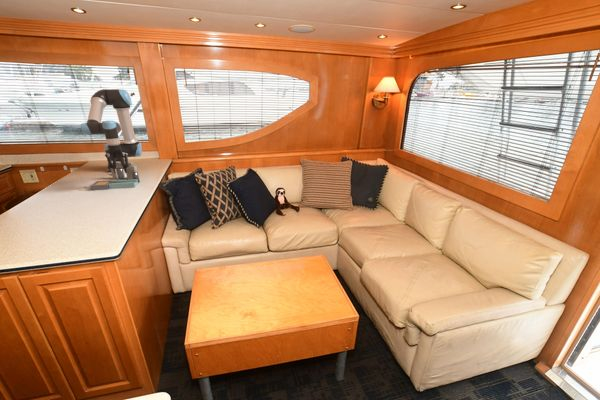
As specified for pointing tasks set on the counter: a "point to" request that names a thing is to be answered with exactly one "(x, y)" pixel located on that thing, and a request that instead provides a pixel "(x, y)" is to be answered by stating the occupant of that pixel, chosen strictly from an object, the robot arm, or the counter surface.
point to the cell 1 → (120, 173)
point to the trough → (123, 184)
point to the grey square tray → (101, 187)
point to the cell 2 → (135, 175)
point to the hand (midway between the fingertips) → (122, 177)
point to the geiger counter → (129, 169)
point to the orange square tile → (101, 183)
